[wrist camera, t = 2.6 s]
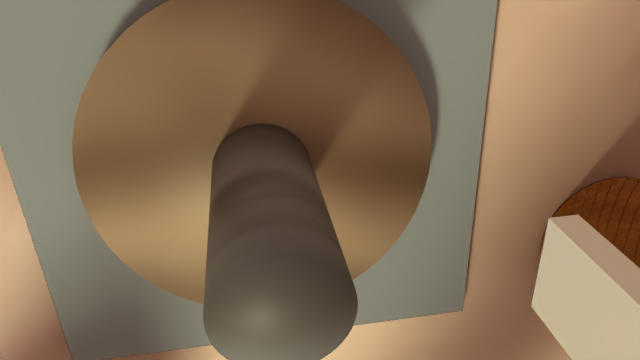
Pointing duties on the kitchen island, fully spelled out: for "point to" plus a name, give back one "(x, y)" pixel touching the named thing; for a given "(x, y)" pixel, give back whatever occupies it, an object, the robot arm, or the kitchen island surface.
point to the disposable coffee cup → (610, 213)
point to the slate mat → (176, 312)
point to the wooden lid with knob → (254, 163)
